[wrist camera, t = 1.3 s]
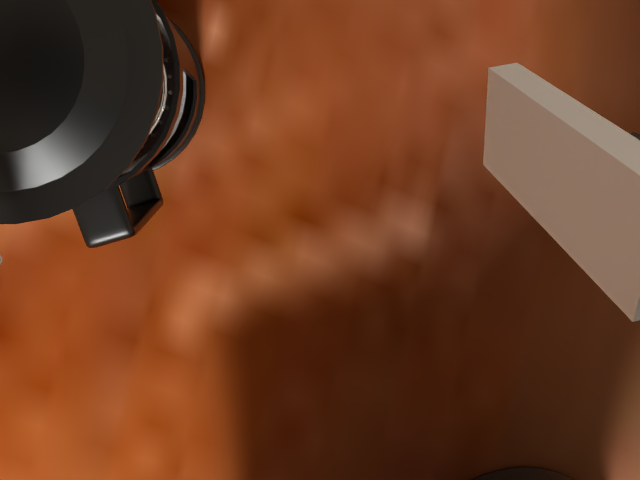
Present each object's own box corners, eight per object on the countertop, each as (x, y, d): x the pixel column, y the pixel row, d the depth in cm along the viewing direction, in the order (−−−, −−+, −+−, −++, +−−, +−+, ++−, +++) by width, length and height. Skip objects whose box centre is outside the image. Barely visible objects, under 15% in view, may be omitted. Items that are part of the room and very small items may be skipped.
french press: (-9, 9, 30) (-766, -336, 7) (170, -36, 30) (-19, -476, 8) (73, 225, 32) (-294, 456, 10) (235, 178, 33) (230, 298, 11)
